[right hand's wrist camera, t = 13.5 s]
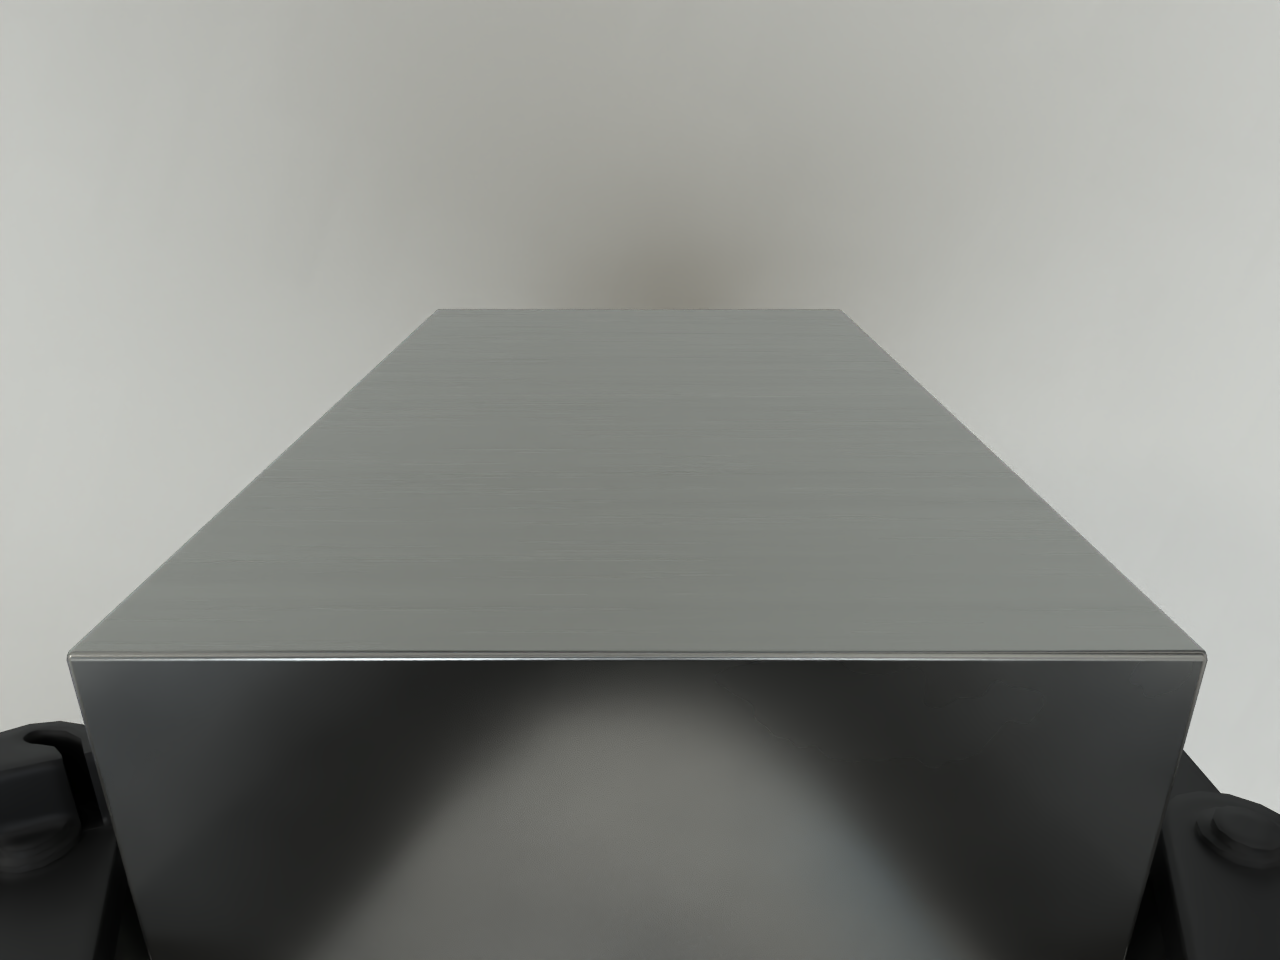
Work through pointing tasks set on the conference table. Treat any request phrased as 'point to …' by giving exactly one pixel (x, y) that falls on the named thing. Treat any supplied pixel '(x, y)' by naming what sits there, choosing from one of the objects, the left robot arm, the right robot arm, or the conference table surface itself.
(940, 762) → the metal block
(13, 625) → the conference table surface
